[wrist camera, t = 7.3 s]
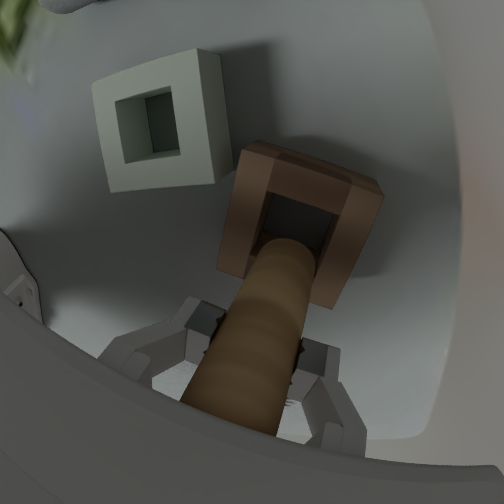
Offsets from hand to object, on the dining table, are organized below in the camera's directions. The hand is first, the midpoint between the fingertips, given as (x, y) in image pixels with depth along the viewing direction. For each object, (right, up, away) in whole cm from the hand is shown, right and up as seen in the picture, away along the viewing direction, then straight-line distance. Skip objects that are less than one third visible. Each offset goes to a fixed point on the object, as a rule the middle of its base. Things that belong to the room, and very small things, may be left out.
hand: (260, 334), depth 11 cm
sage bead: (-6, +13, +11) cm, 18 cm away
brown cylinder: (+1, +2, +4) cm, 5 cm away
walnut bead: (+3, +6, +12) cm, 14 cm away
